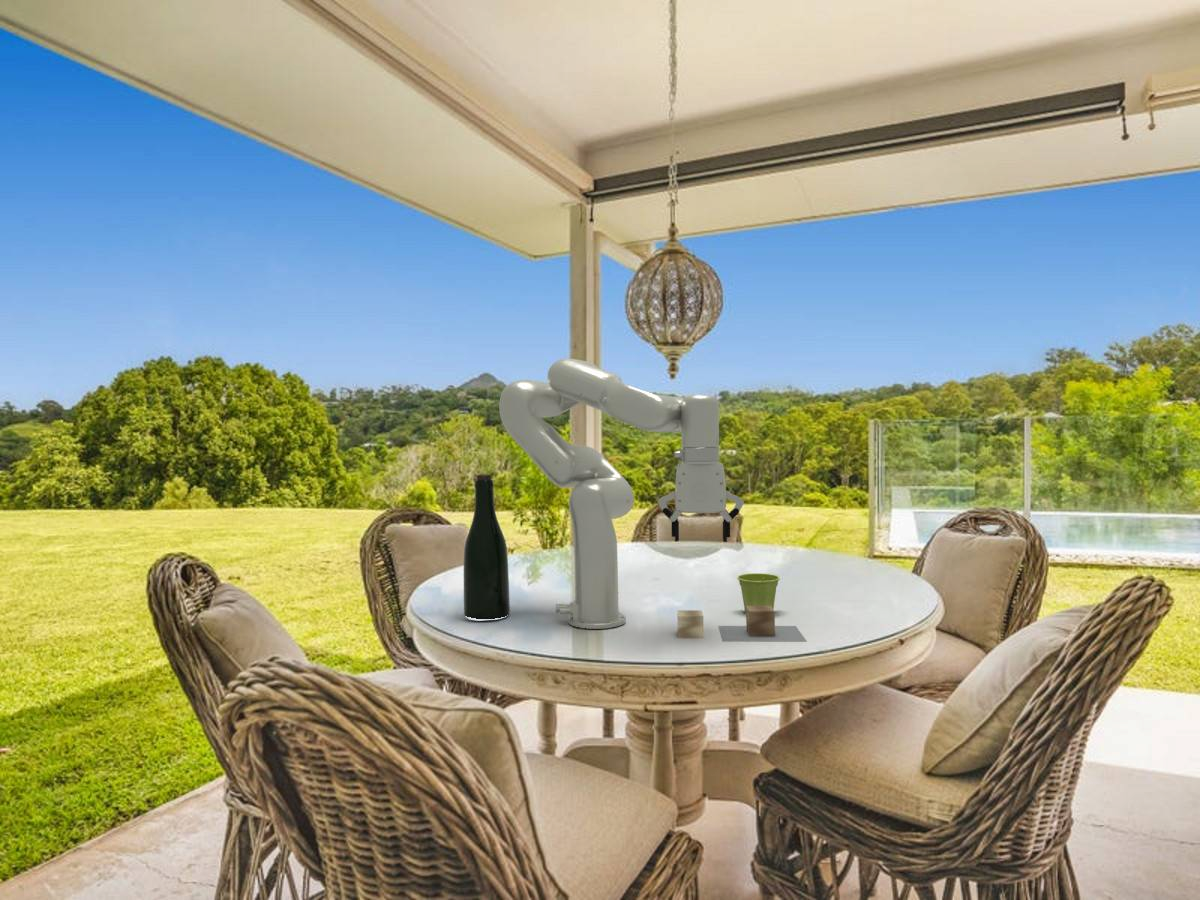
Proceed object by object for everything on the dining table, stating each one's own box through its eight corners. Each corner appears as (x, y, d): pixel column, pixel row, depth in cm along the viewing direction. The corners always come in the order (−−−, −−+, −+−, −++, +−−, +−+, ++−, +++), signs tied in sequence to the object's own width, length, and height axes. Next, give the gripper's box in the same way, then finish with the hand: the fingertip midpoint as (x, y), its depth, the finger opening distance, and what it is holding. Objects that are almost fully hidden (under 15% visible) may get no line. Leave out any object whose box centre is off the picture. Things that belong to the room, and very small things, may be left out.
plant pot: (781, 620, 157) (780, 581, 157) (737, 619, 159) (736, 580, 159) (779, 611, 166) (778, 573, 166) (738, 610, 168) (737, 572, 168)
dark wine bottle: (472, 611, 172) (469, 473, 172) (515, 612, 170) (512, 473, 170) (457, 622, 162) (454, 475, 162) (502, 623, 160) (499, 474, 160)
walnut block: (749, 636, 142) (748, 611, 142) (746, 630, 147) (746, 605, 147) (775, 636, 142) (774, 611, 142) (771, 630, 147) (770, 605, 147)
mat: (722, 644, 139) (722, 641, 139) (718, 628, 151) (718, 625, 151) (807, 644, 138) (807, 641, 138) (795, 628, 150) (795, 625, 150)
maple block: (678, 641, 143) (677, 616, 143) (677, 634, 148) (677, 610, 148) (703, 641, 142) (703, 616, 142) (702, 634, 147) (702, 610, 147)
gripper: (656, 457, 143) (656, 543, 143) (744, 456, 141) (745, 544, 141) (658, 456, 151) (659, 538, 151) (742, 455, 148) (743, 538, 149)
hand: (700, 540), depth 146 cm, fingers open, 9 cm apart
